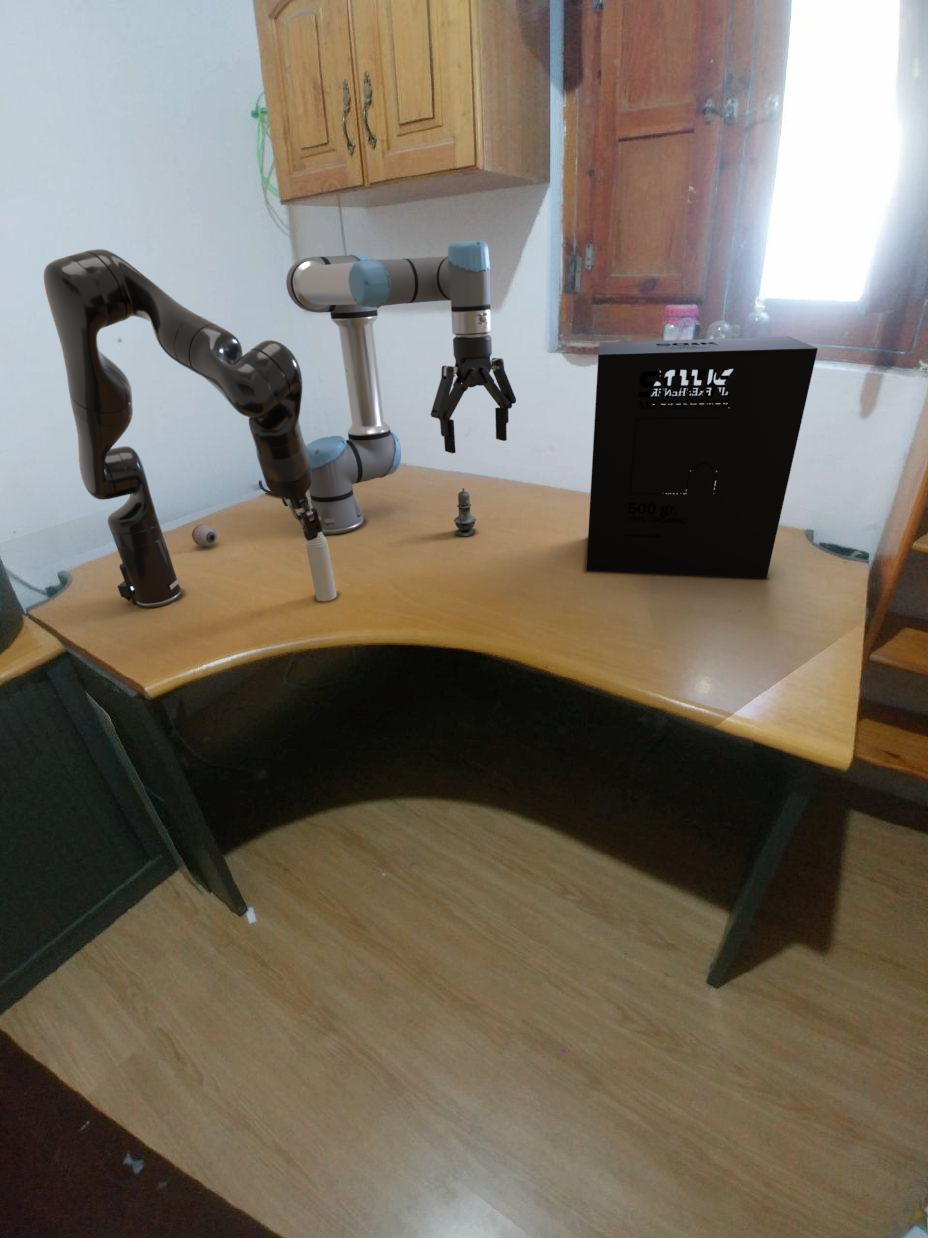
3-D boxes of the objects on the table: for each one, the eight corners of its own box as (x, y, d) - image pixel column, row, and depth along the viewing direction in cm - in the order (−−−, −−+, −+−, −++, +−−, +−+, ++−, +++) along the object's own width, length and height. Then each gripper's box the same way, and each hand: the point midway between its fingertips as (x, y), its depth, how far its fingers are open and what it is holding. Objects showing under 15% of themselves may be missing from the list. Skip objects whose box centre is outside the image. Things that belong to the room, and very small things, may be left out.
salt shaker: (474, 536, 157) (472, 491, 151) (452, 536, 158) (449, 491, 152) (478, 528, 161) (476, 484, 155) (457, 527, 163) (454, 484, 157)
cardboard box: (748, 541, 145) (788, 336, 123) (766, 578, 128) (817, 348, 106) (588, 536, 153) (599, 342, 130) (586, 571, 136) (598, 354, 113)
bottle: (328, 590, 134) (315, 515, 126) (340, 595, 132) (327, 519, 123) (312, 597, 132) (297, 521, 123) (324, 603, 129) (309, 526, 120)
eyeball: (205, 552, 157) (199, 530, 154) (190, 548, 160) (184, 526, 157) (224, 544, 161) (219, 522, 158) (209, 540, 164) (203, 519, 161)
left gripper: (242, 439, 96) (263, 500, 110) (283, 503, 91) (300, 558, 106) (285, 421, 98) (301, 484, 112) (327, 483, 93) (338, 540, 108)
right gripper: (429, 342, 108) (437, 460, 118) (533, 329, 120) (532, 437, 131) (407, 340, 113) (417, 454, 124) (508, 328, 125) (510, 432, 136)
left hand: (300, 520), depth 109 cm, fingers open, 8 cm apart
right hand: (476, 445), depth 127 cm, fingers open, 13 cm apart
